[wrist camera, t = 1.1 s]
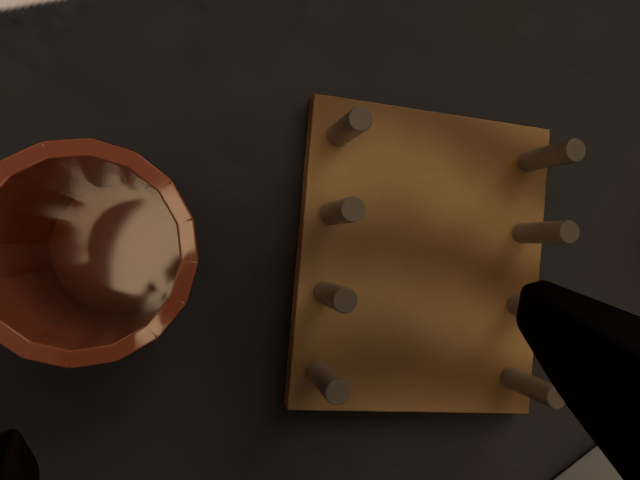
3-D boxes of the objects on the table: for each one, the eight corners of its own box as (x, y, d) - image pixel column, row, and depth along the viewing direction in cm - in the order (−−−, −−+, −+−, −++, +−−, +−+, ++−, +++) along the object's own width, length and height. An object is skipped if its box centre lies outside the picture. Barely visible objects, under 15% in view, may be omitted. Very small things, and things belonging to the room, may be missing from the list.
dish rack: (517, 407, 27) (579, 439, 23) (283, 403, 24) (303, 439, 20) (538, 133, 28) (603, 113, 23) (309, 98, 25) (334, 68, 20)
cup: (132, 350, 23) (98, 411, 15) (7, 260, 22) (-106, 273, 14) (224, 237, 24) (241, 235, 16) (108, 145, 23) (60, 91, 15)
